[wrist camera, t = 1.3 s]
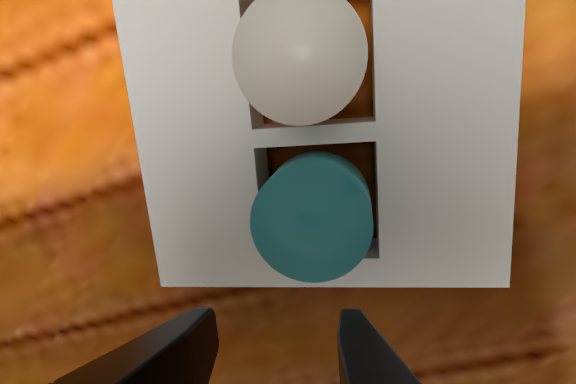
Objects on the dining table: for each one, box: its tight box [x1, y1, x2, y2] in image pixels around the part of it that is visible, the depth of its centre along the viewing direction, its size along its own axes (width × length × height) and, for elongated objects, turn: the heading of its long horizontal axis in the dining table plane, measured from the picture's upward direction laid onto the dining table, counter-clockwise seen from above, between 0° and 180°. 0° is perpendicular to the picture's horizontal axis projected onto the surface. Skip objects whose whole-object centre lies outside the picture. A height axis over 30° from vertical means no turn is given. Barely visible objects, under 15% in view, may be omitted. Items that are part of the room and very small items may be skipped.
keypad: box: [112, 0, 526, 288], centre depth 18 cm, size 16×20×2 cm
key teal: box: [250, 151, 373, 283], centre depth 17 cm, size 5×5×3 cm
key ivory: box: [232, 0, 368, 126], centre depth 15 cm, size 5×5×3 cm
